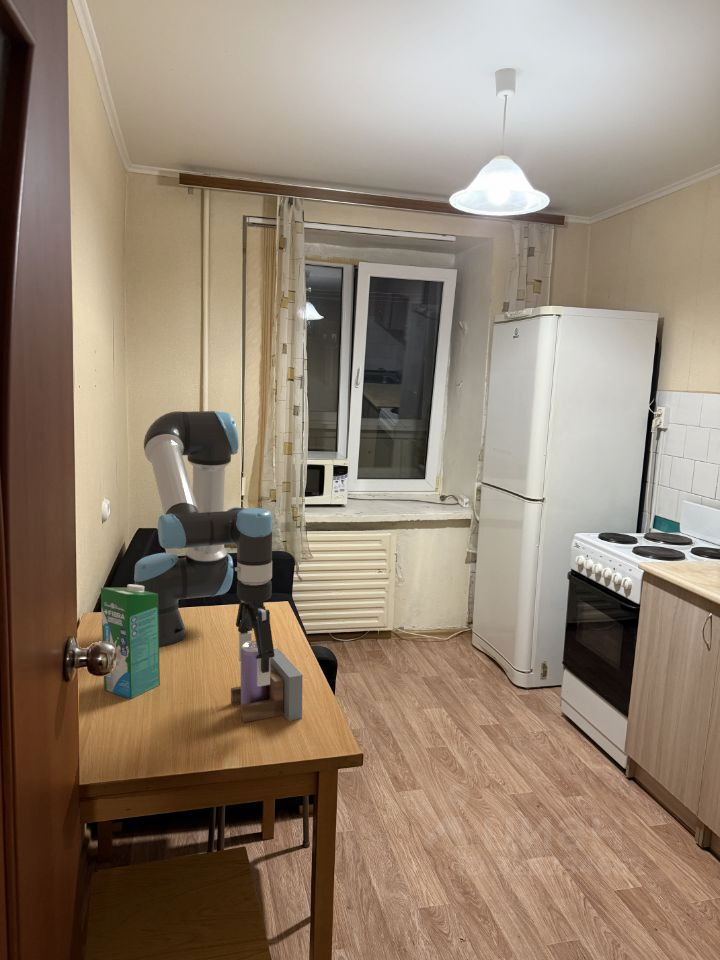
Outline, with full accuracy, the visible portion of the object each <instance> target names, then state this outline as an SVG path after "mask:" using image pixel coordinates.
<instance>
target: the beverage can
mask: <svg viewBox="0 0 720 960" xmlns="http://www.w3.org/2000/svg"><path fill="white" fill-rule="evenodd" d="M266 652H267V651H266ZM257 655H259V654H258V649H257V644H256V640H251V641H249V642H246V643H244V644H242V646H241V662H240V686H241V703H240V709H241V710H242V705H244V704H249V703H254V702H259V701H265V700H268V685H264V686H259V687H258V686H257V659H256V656H257Z"/></svg>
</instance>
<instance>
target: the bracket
mask: <svg viewBox="0 0 720 960" xmlns="http://www.w3.org/2000/svg"><path fill="white" fill-rule="evenodd" d="M230 704H231V705H232V706H233V705H239V704H241V685H239V686H234V687H231V688H230ZM283 715H284V714H283V679H282V678H281V677H280V675H279V674H278V673H277V672H276V671H275V670H274V668H273V667H272V666H271V665H270V685H268V700H265V701H259V702H254V703H249V704H244V705H242V709H241V721H242V723H248V722H253V721H258V720H263V719H267V718H272V717H277V716H283Z"/></svg>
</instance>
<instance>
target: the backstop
mask: <svg viewBox="0 0 720 960" xmlns="http://www.w3.org/2000/svg"><path fill="white" fill-rule="evenodd" d="M274 654H275V655H274V657H271V658H270V665H271V666H272V667H273V668H274V670H275V671H276V672H277V673H278V674H279V675H280V677H281V678H282V679H283V715H284V716H285V718H286V719H287V720H288V722H290V721H297V720H301V719H303V674H302V673H301V671H300V670H298V668H297V667H296V666H295V665H294V664H293V663H292V662H291V661H290V660H289V659H288V658H287V657H286V656H285V654H284V653H283V652H282V651H281V650H280V649H279V648H274Z"/></svg>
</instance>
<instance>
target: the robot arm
mask: <svg viewBox="0 0 720 960" xmlns="http://www.w3.org/2000/svg"><path fill="white" fill-rule="evenodd" d="M237 428H238V427H237V425H236V422H235V419H234V417H233V416H232V415H231V414H230V413H229V412H226V411H216V410H205V411H203V410H202V411H201V410H199V411H178V410H177V411H170V412H168V413H165V414H163V415H161V416H159V417H158V418H157V419H155V420H154V421H153V423H151V425H150V426H149V427H148V429H147V430H146V433H145V435H144V439H143V451H144V455H145V457H146V460H148V462H150V464H151V465H152V466H151V467H152V471H153V475H154V478H155V482H156V487H157V491H158V494H159V499H160V502H161V507H162V511H163V514H162V515H160V516H159V518H158V520H157V535H158V543H159V545H160V547H162V548H163V549H178V550H181V549H186V550H185V556H184V557H180V558H179V556H178V554H176V553H174V552H160V553H155V554H154V553H153V554H151V555H147V556H144V557H142V558H141V559H139V560H138V561H137V562H136V563H135V565H134V577H133V580H134V585H142V586H144V591H148V592H152V593H156V594H158V621H159V647H163V646H169V645H172V644H175V643H178V642H180V641H181V640H183V639H184V638H185V637H186V626H185V623H184V621H183V618H182V615H181V612H180V610H179V600H185V599H186V600H187V599H196V598H206V597H211V598H213V597H215V596H220V595H221V596H222V595H225V594H227V592H228V591H229V590H230V588H231V586H232V583H233V578H234V571H235V572H236V579H237V580H238V581H237V582H236V597H237V599H238V600H239V604H238V609H237V610H238V611H237V616H236V621H235V626H236V628H237V631H238V661H239V662H240V663H241V646H242V644H244V643H246V642H249V641H252V631H253V634H254V639H255V641H256V644H257V649H258V654H259V655H257V656H256V659H257V686H258V687H259V686H264V685H270V658H271V657H274V655H275V654H274V649H275V648H274V641H273V635H272V627H271V626H272V625H271V620H270V619H271V616H270V614H271V613H270V610H269V609H266V606H265V604H264V603H265V601H267V600H269V599H271V597H272V593H273V589H272V587H273V586H272V584H273V583H272V580H271V579H272V578H273V531H274V524H273V515H272V512H271V511H270V510H268V509H264V508H261V507H260V508H259V507H249V508H248V507H247V508H244V507H239V506H235V507H234V506H233V507H230V508H229V509H227V510H226V511H225V510H224V507H225V506H224V501H225V477H226V476H225V475H226V467H227V466H228V465H229V464H231V460H232V456H233V455H237V453H238V451H239V446H240V444H239V442H240V441H239V434H238V429H237ZM183 456H187V461H188V463H189V464H190V465H191V466H192V485H191V481H190V478H189V475H188V471H187V468H186V465H185V461H184V457H183ZM223 545H236V566H235V567H234V562H233V557H232V556H231V555H230V554H229V553H228V550H227V549H226V548H225V547H224V546H223ZM266 651H267V652H266Z"/></svg>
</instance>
